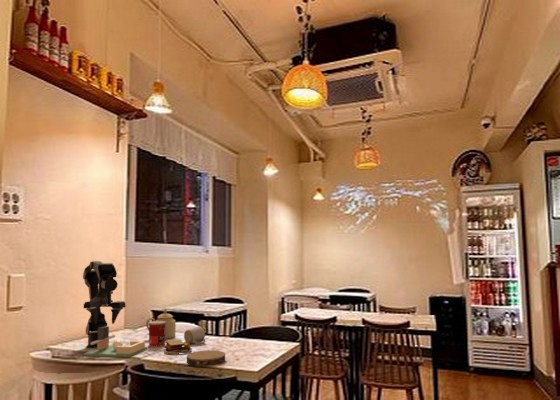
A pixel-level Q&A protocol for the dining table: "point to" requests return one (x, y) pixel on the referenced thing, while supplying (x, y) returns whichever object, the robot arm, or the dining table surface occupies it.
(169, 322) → the cream teapot
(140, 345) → the pitch
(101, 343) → the kicker rod
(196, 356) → the brown round disc
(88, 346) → the robot arm
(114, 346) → the ball
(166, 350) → the toy sandwich meal
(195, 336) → the ceramic mug
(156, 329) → the canned food
